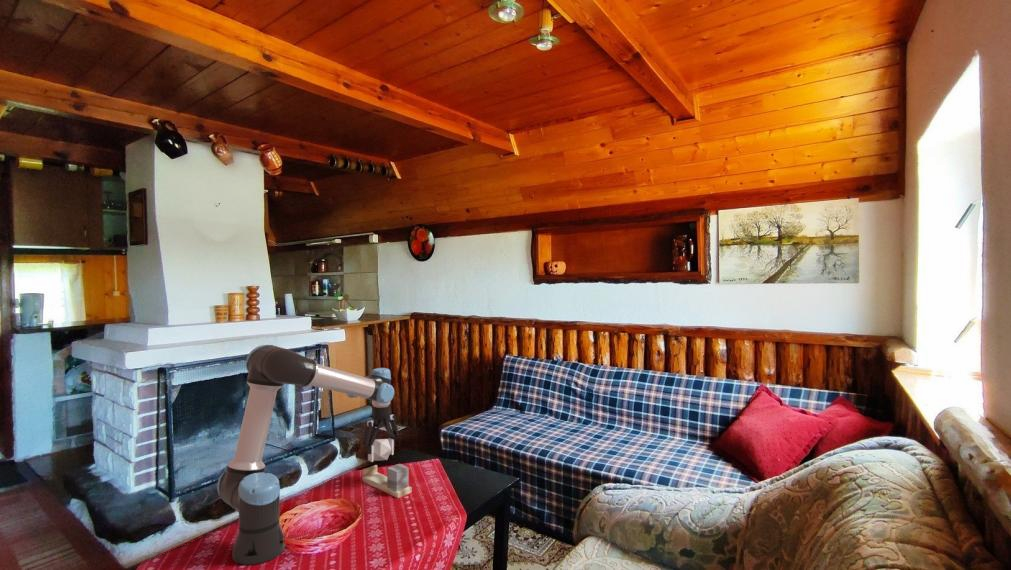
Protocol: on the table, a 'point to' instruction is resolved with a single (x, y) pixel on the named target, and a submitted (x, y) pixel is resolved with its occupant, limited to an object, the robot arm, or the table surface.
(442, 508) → the table surface
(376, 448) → the die
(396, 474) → the rail
